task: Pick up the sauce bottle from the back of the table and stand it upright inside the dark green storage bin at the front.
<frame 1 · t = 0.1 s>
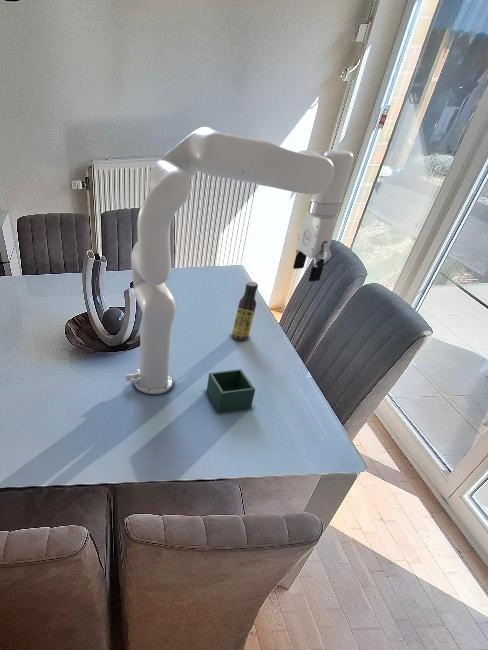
hand: (305, 274, 135), 31 cm above the table, tool pointing down, fingers open, 9 cm apart
sauce bottle: (240, 337, 173), on the table
dark green storage bin: (228, 399, 145), on the table
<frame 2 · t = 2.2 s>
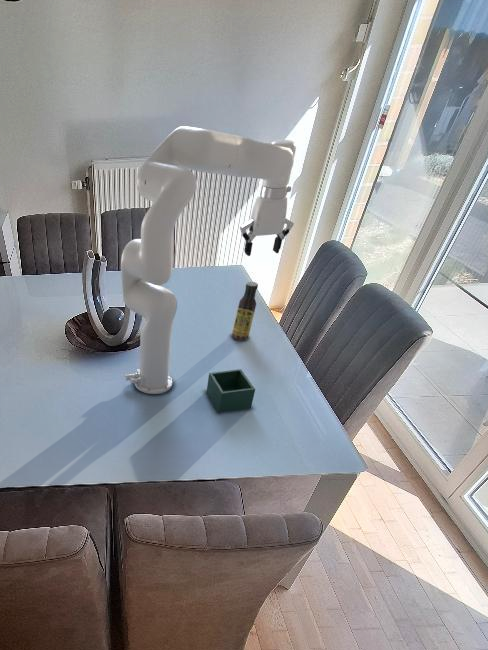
hand: (261, 253, 150), 30 cm above the table, tool pointing down, fingers open, 9 cm apart
nothing on the table moved.
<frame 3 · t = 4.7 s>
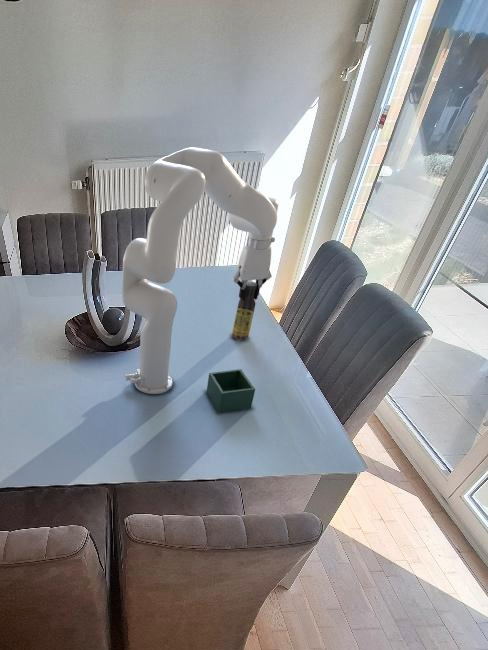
hand: (248, 298, 163), 15 cm above the table, tool pointing down, fingers closed on sauce bottle, 4 cm apart
sauce bottle: (240, 337, 173), on the table, touching gripper
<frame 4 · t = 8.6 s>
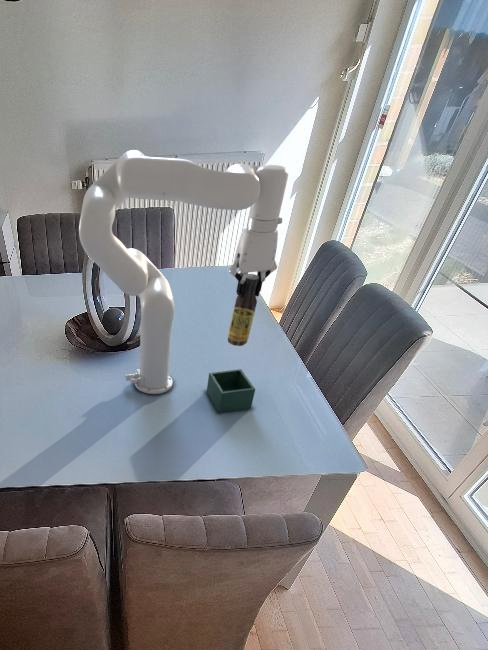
hand: (247, 294, 131), 29 cm above the table, tool pointing down, fingers closed on sauce bottle, 4 cm apart
sauce bottle: (237, 342, 142), point 14 cm above the table, touching gripper
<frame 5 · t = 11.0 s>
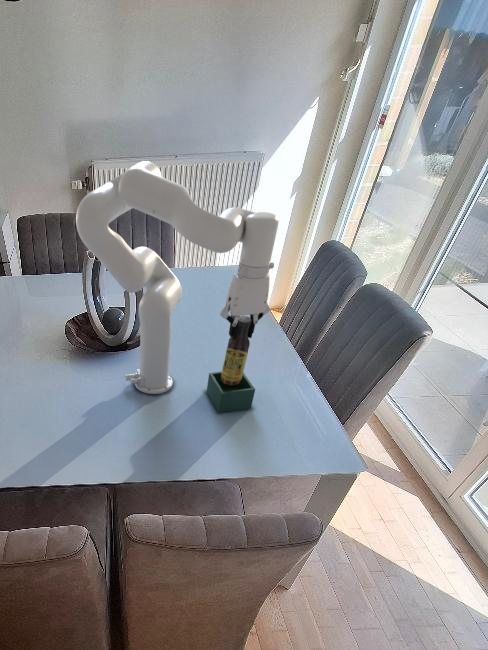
hand: (240, 336, 130), 22 cm above the table, tool pointing down, fingers closed on sauce bottle, 4 cm apart
sauce bottle: (231, 381, 140), point 7 cm above the table, touching gripper
when the fingers open (16 cm above the table, at t = 12.9 s): sauce bottle stays where it is, resting on dark green storage bin.
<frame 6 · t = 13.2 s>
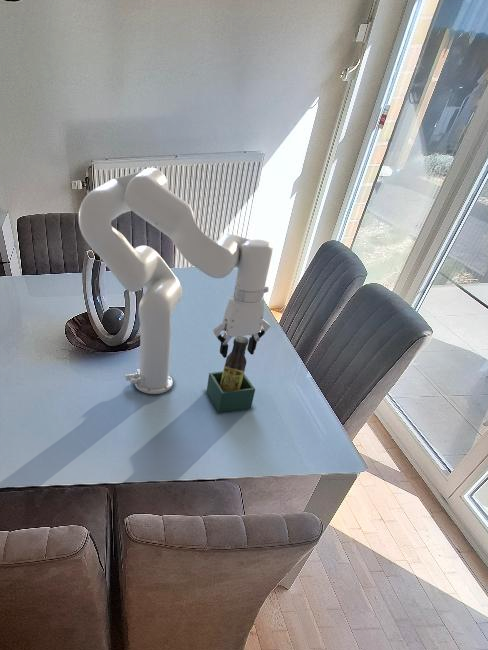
hand: (236, 353, 134), 16 cm above the table, tool pointing down, fingers open, 7 cm apart
sauce bottle: (228, 397, 145), point 1 cm above the table, touching dark green storage bin
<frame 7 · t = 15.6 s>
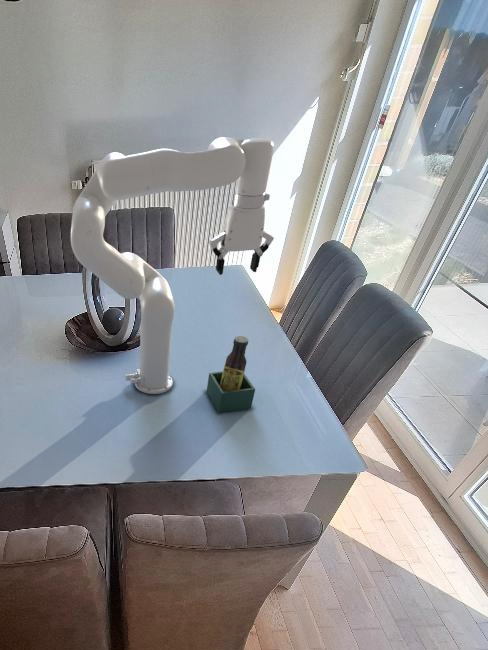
hand: (236, 271, 127), 35 cm above the table, tool pointing down, fingers open, 9 cm apart
nothing on the table moved.
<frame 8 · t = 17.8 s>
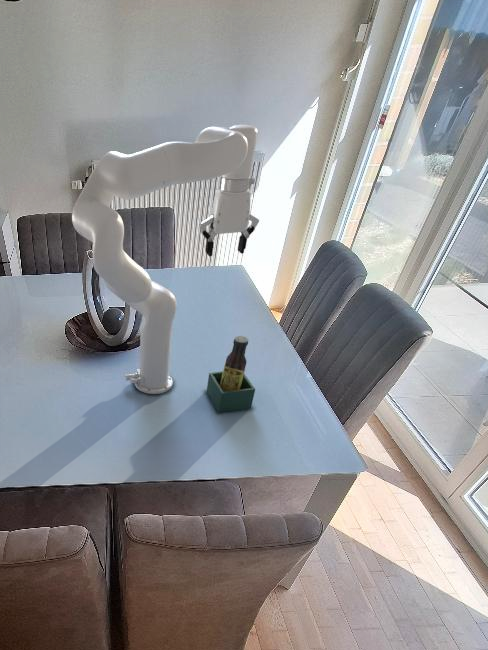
hand: (224, 253, 134), 36 cm above the table, tool pointing down, fingers open, 9 cm apart
nothing on the table moved.
at the end: sauce bottle inside the target area in the dark green storage bin (0.1 cm from its centre), point 0.8 cm above the dark green storage bin's base; sauce bottle tilted 0° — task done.
